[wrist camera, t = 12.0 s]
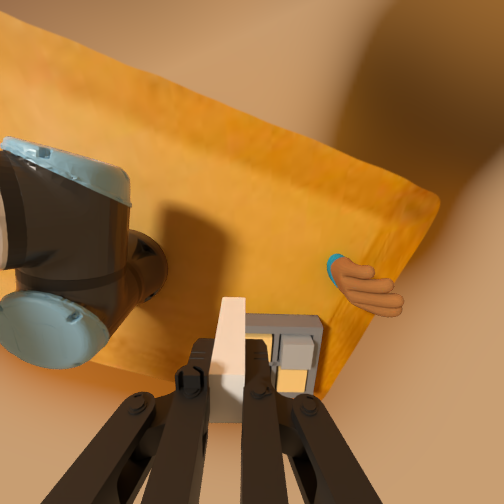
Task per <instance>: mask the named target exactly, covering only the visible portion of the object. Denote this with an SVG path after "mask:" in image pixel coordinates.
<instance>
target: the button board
mask: <svg viewBox="0 0 504 504" xmlns="http://www.w3.org/2000/svg"><path fill="white" fill-rule="evenodd" d="M245 333H256V334H272V348H271V360H270V362H269V368H270V376H271V383H272V386H273V387H274V389H275V390H276V391H277V389H276V382H275V378H276V367H277V366H280V360H279V346H280V336H281V334H299V335H311V338H312V340H313V343H314V351H313V357H312V364H311V370H307V376H306V383H305V390H304V392H278V393H280V394H281V395H283V396H285V397H288V398H295V397H296V396H297V395H300V394H311V395H313V391H314V385H315V378H316V372H317V366H318V359H319V353H320V347H321V340H322V334H323V326H322V324H321V322H320V320H319V317H318V315H287V314H249V313H245Z"/></svg>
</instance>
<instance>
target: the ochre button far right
mask: <svg viewBox="0 0 504 504" xmlns="http://www.w3.org/2000/svg"><path fill="white" fill-rule="evenodd" d="M306 376H307V370H296V369H281V366H277V367H276V378H275V382H276V389H277V392H304V390H305V383H306Z"/></svg>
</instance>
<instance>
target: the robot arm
mask: <svg viewBox="0 0 504 504" xmlns="http://www.w3.org/2000/svg"><path fill="white" fill-rule="evenodd" d="M0 147H1V148H2V149H3V151H0V270H8V269H15V275H16V291H15V292H12V293H10V294H8V295H6V296H4V297H3V298H2V300H1V301H0V343H1V345H2V346H3V347H4V348H5V349H7V350H8V351H9V352H10V353H12V354H14V355H15V356H17V357H18V358H20V359H21V360H23V361H25V362H27V363H30V364H33V365H36V366H39V367H44V368H49V369H68V368H73V367H77V366H80V365H82V364H83V363H85V362H87V361H89V360H90V359H91V358H93V357H94V356H95V355H96V354H97V353H98V352H99V351H100V350H101V349H102V348H103V347H105V345H106V344H107V343H108V341H109V339H110V337H111V336H112V335H113V334H114V332H115V331H116V330H117V329H118V327H119V326H120V325H121V324H122V322H123V321H124V320H125V318H126V317H127V316H128V315H129V313H130V312H131V311H132V310H133V308H134V307H135V306H137V305H139V304H141V303H144V302H146V301H148V300H150V299H151V298H152V297H154V296H155V295H156V294H157V293H158V292H159V290H160V289H161V288H162V286H163V285H164V283H165V281H166V278H167V273H168V266H167V261H166V258H165V255H164V253H163V251H162V250H161V248H160V247H159V246H158V244H157V243H156V242H155V241H154V240H152V239H151V238H150V237H148V236H147V235H145V234H143V233H141V232H138V231H135V230H130V229H129V219H130V207H132V204H131V202H130V179H129V176H128V175H127V173H126V172H125V171H124V170H123V169H121V168H120V167H117V166H114V165H111V164H108V163H105V162H102V161H98V160H95V159H91V158H88V157H84V156H81V155H77V154H74V153H70V152H67V151H63V150H60V149H56V148H52V147H49V146H45V145H41V144H38V143H34V142H30V141H26V140H22V139H18V138H15V137H10V136H7V137H4V139H3V142H2V143H1V144H0ZM175 384H176V390H175V391H174V392H172V393H170V394H168V395H165V396H161V397H158V398H154V396H153V395H152V394H150V393H148V392H138V393H135V394H133V395H131V396H129V397H128V398H127V399H125V400H124V402H122V404H121V405H120V406H119V407H118V409H117V410H116V411H115V412H114V414H113V415H112V416H111V417H110V418H109V420H108V421H107V422H106V423H105V425H104V426H103V427H102V428H101V430H100V431H99V432H98V433H97V434H96V436H95V437H94V438H93V439H92V441H91V442H90V443H89V444H88V446H87V447H86V448H85V449H84V451H83V452H82V453H81V454H80V456H79V457H78V458H77V459H76V460H75V462H74V463H73V464H72V465H71V467H70V468H69V469H68V470H67V472H66V473H65V474H64V475H63V477H62V478H61V479H60V480H59V481H58V483H57V484H56V485H55V486H54V488H53V489H52V490H51V492H50V493H49V494H48V495H47V496H46V498H45V499H44V500H43V501H42V503H41V504H133V502H134V500H135V498H136V496H137V494H138V492H139V491H140V488H141V487H142V485H143V483H144V481H145V479H146V477H147V475H148V474H149V472H150V470H151V472H150V475H149V479H148V482H147V485H146V488H145V492H144V495H143V498H142V501H141V504H199V496H200V489H201V482H202V475H203V467H204V461H205V454H206V446H207V439H208V423H242V438H241V495H240V497H241V498H240V504H288V496H287V488H286V480H285V472H284V464H283V456H282V453H284V454H287V456H288V459H289V462H290V464H291V467H292V470H293V473H294V476H295V478H296V481H297V484H298V486H299V489H300V492H301V495H302V498H303V500H304V503H305V504H383V503H382V502H381V500H380V498H379V497H378V495H377V493H376V492H375V490H374V488H373V487H372V485H371V483H370V482H369V480H368V478H367V476H366V475H365V473H364V471H363V470H362V468H361V466H360V465H359V463H358V461H357V460H356V458H355V456H354V455H353V453H352V452H351V450H350V448H349V446H348V445H347V443H346V441H345V439H344V438H343V436H342V434H341V433H340V431H339V429H338V428H337V426H336V425H335V423H334V421H333V419H332V418H331V416H330V414H329V413H328V411H327V409H326V408H325V406H324V404H323V403H322V402H321V401H320V399H318V398H317V397H315V396H314V395H311V394H300V395H297V396H296V397H295V398H294V399H292V398H288V397H285V396H283V395H281V394H280V393H278V392H277V391H276V390H275V389H274V387H273V386H272V383H271V376H270V368H269V360H268V351H267V345H266V344H265V342H264V341H263V339H245V298H240V297H223V298H222V303H221V309H220V315H219V320H218V326H217V331H216V337H215V339H207V338H199V339H198V340H197V341H196V342H195V343H194V344H193V348H192V351H191V354H190V358H189V361H188V364H187V365H185V366H183V367H181V368H180V369H179V370H178V371H177V373H176V374H175ZM151 468H152V469H151Z"/></svg>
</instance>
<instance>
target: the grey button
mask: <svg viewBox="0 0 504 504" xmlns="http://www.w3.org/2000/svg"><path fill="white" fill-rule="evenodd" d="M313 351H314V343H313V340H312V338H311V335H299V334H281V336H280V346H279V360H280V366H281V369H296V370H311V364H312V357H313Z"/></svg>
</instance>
